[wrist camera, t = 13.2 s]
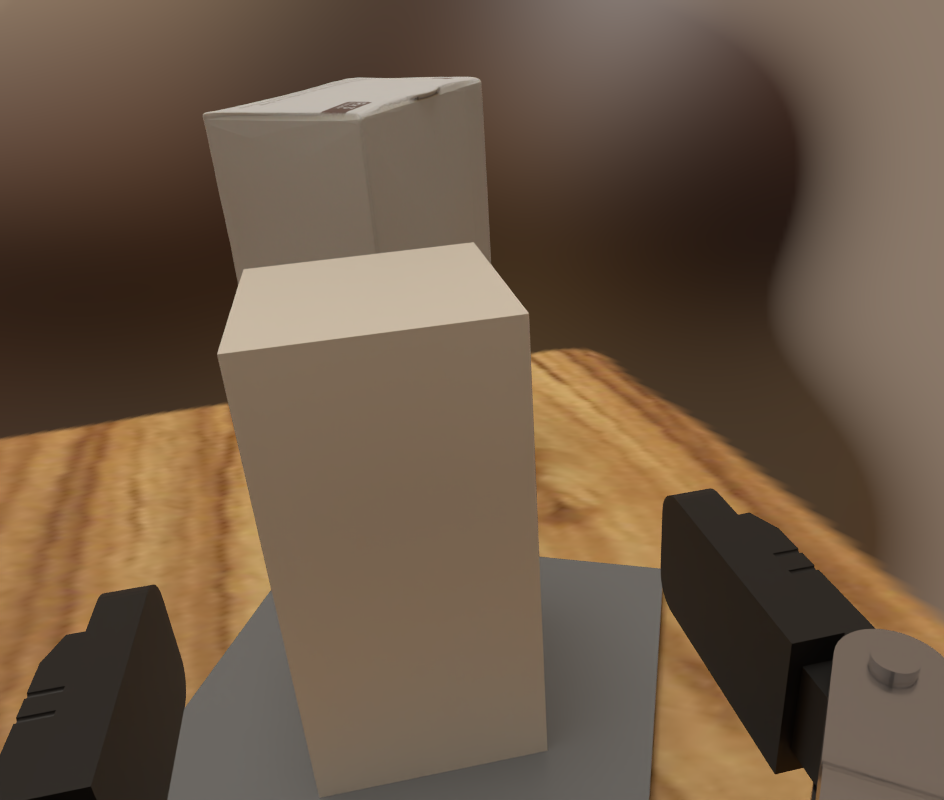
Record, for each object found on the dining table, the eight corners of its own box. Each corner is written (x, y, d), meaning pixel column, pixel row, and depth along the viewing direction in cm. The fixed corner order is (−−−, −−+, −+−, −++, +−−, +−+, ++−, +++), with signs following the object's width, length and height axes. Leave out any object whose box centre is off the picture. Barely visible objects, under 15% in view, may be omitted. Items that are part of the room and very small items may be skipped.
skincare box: (389, 424, 36) (342, 77, 30) (510, 442, 34) (488, 69, 27) (277, 524, 29) (186, 102, 23) (419, 556, 27) (362, 95, 20)
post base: (84, 873, 17) (-38, 603, 14) (314, 548, 28) (276, 349, 24) (636, 1006, 14) (647, 700, 11) (662, 584, 25) (672, 362, 21)
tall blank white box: (319, 797, 18) (217, 354, 13) (318, 636, 23) (243, 269, 18) (547, 750, 19) (528, 313, 14) (499, 603, 23) (473, 242, 19)
